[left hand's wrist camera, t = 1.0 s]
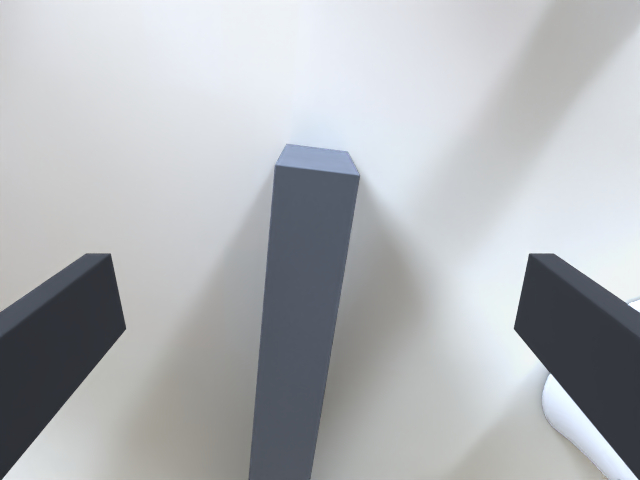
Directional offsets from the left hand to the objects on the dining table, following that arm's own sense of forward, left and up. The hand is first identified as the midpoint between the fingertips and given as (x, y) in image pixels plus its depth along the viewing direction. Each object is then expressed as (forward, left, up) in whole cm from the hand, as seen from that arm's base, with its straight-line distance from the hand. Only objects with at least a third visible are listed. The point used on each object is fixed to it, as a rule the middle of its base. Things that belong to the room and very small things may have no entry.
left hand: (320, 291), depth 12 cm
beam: (+7, -24, -20) cm, 32 cm away
